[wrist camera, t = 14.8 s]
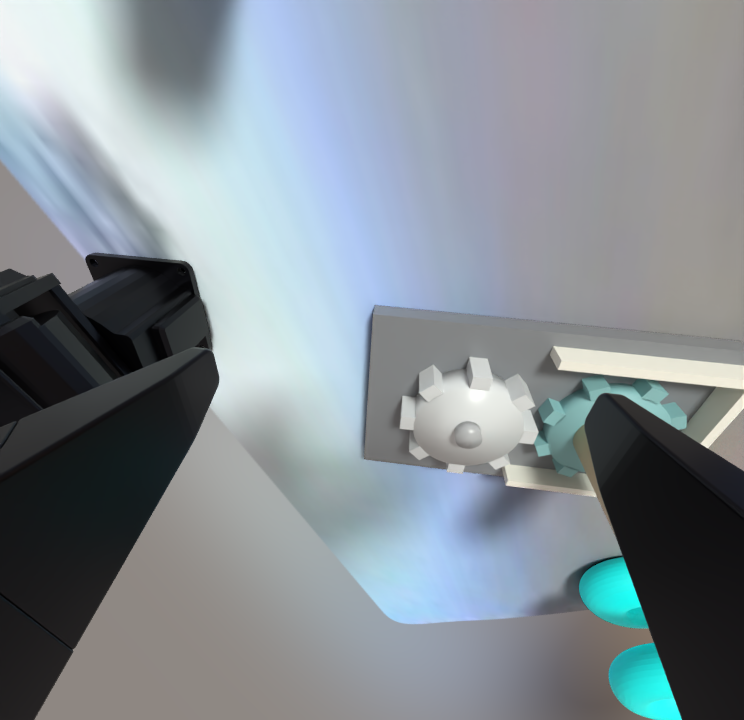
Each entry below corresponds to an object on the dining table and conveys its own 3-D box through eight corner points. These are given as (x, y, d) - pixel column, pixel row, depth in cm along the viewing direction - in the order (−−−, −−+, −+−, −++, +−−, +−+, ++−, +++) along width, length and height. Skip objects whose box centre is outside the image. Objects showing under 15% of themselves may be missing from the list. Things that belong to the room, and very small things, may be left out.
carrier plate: (365, 447, 29) (359, 489, 26) (375, 305, 22) (367, 339, 18) (632, 480, 28) (660, 528, 25) (740, 341, 20) (801, 384, 17)
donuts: (788, 695, 24) (752, 732, 29) (694, 546, 32) (679, 596, 37) (621, 688, 27) (615, 723, 32) (573, 552, 35) (575, 598, 40)
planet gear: (543, 475, 27) (624, 710, 16) (518, 394, 23) (604, 639, 12) (675, 451, 24) (876, 717, 14) (673, 355, 20) (959, 628, 9)
